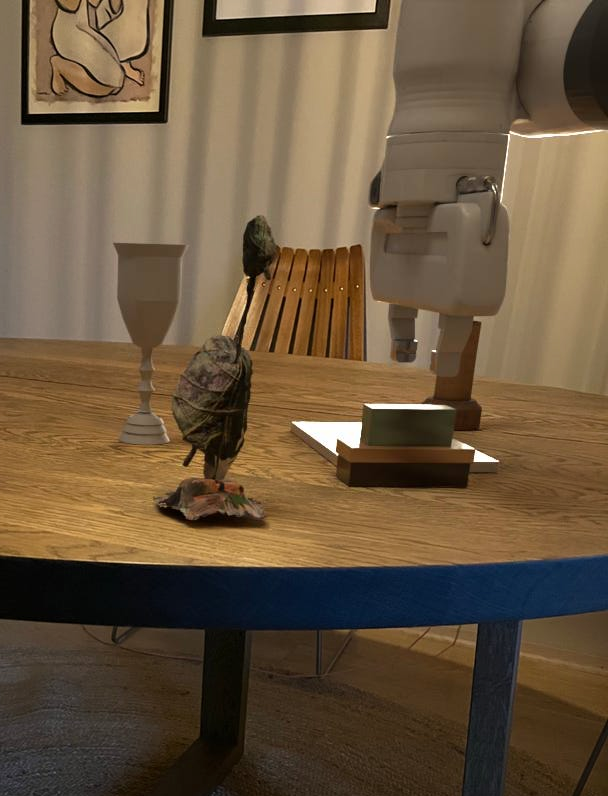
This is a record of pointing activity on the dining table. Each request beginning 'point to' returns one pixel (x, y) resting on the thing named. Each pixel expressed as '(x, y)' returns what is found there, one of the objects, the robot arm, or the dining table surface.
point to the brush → (405, 449)
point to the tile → (326, 434)
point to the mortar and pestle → (461, 387)
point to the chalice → (148, 320)
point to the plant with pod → (220, 403)
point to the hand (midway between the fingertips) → (421, 368)
